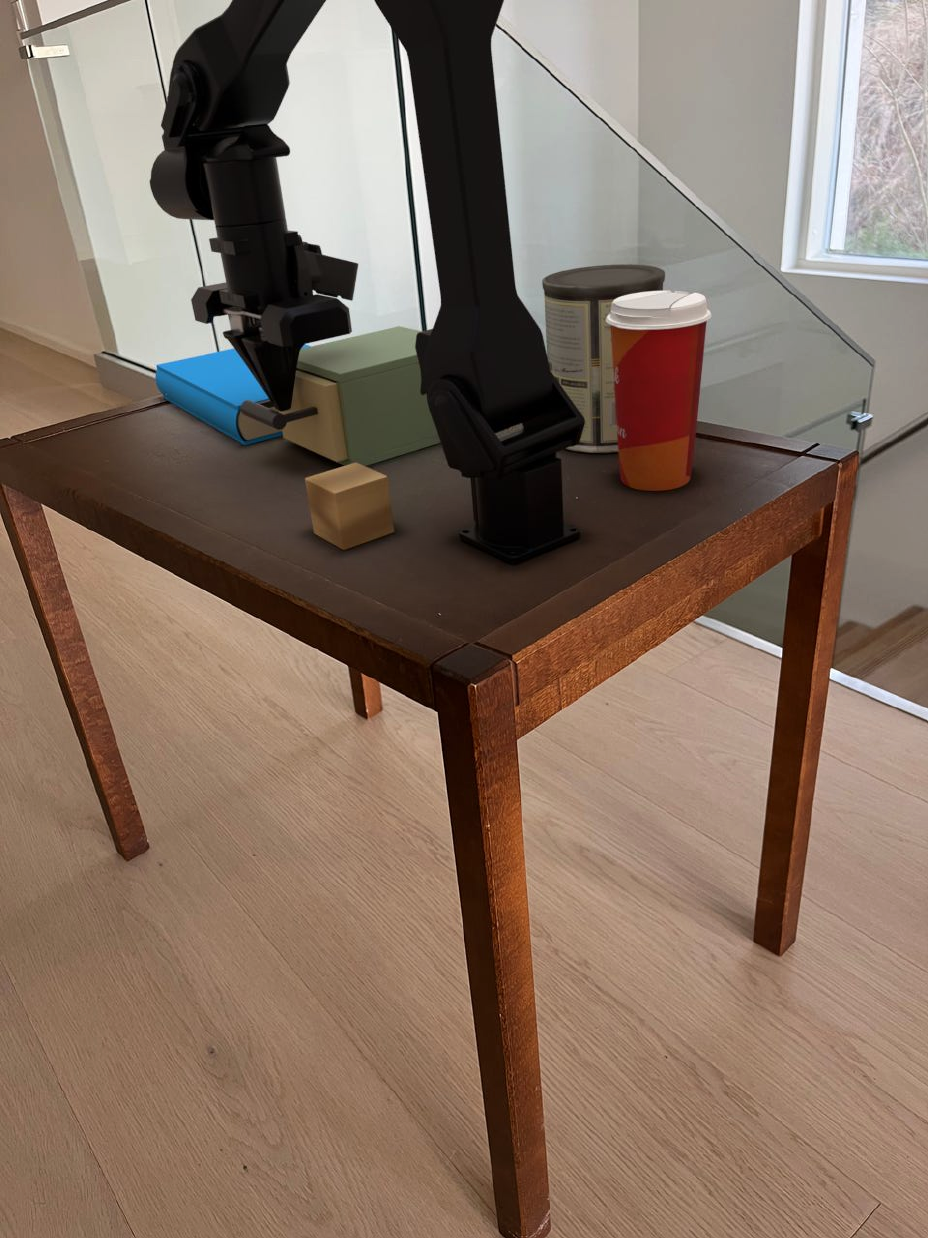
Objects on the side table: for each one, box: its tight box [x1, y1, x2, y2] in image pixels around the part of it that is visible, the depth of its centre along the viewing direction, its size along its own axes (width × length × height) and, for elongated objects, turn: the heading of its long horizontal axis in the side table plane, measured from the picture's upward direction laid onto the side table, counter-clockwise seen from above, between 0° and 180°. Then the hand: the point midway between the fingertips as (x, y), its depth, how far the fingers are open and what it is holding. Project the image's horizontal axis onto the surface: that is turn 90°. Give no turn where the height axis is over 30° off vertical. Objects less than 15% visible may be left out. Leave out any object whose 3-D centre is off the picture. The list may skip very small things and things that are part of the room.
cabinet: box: [296, 325, 441, 467], centre depth 90 cm, size 14×12×9 cm
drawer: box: [241, 369, 348, 463], centre depth 88 cm, size 17×10×7 cm, turn 127°
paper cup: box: [606, 290, 712, 492], centre depth 73 cm, size 8×8×14 cm
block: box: [304, 463, 395, 551], centre depth 71 cm, size 4×4×4 cm
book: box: [155, 344, 313, 446], centre depth 105 cm, size 17×4×25 cm
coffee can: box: [541, 264, 666, 454], centre depth 84 cm, size 10×10×14 cm
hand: (283, 409), depth 85 cm, fingers closed
